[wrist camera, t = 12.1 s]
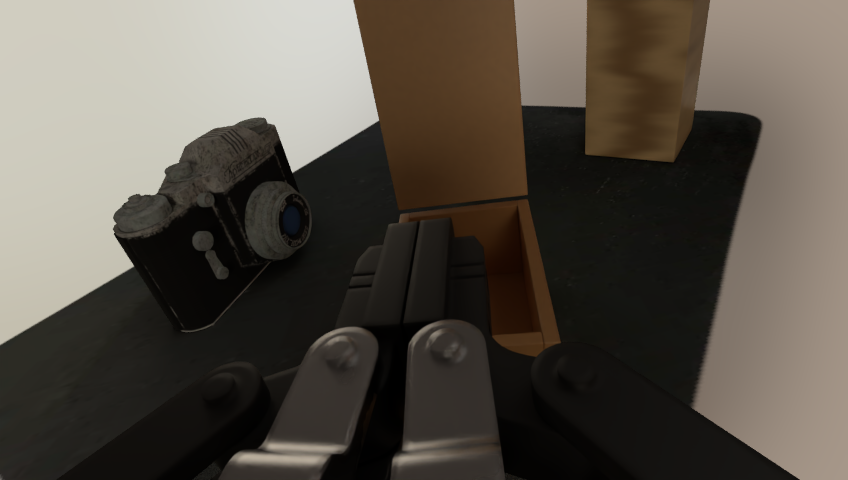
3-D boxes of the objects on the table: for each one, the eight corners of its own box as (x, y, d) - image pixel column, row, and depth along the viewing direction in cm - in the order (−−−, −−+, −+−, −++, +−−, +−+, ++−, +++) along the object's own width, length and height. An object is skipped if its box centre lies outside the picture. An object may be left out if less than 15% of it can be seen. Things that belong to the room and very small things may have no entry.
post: (691, 129, 41) (720, -73, 33) (673, 162, 36) (701, -61, 28) (610, 124, 45) (617, -56, 37) (585, 154, 40) (587, -44, 32)
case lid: (510, -50, 20) (509, -49, 20) (349, -17, 21) (352, -17, 21) (527, 195, 25) (526, 190, 25) (398, 210, 26) (399, 206, 27)
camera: (244, 340, 28) (165, 194, 22) (160, 330, 30) (70, 195, 25) (347, 213, 39) (311, 96, 34) (281, 213, 41) (237, 103, 36)
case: (562, 429, 19) (561, 341, 17) (395, 436, 20) (367, 355, 18) (532, 273, 28) (527, 198, 25) (417, 283, 29) (400, 213, 27)
